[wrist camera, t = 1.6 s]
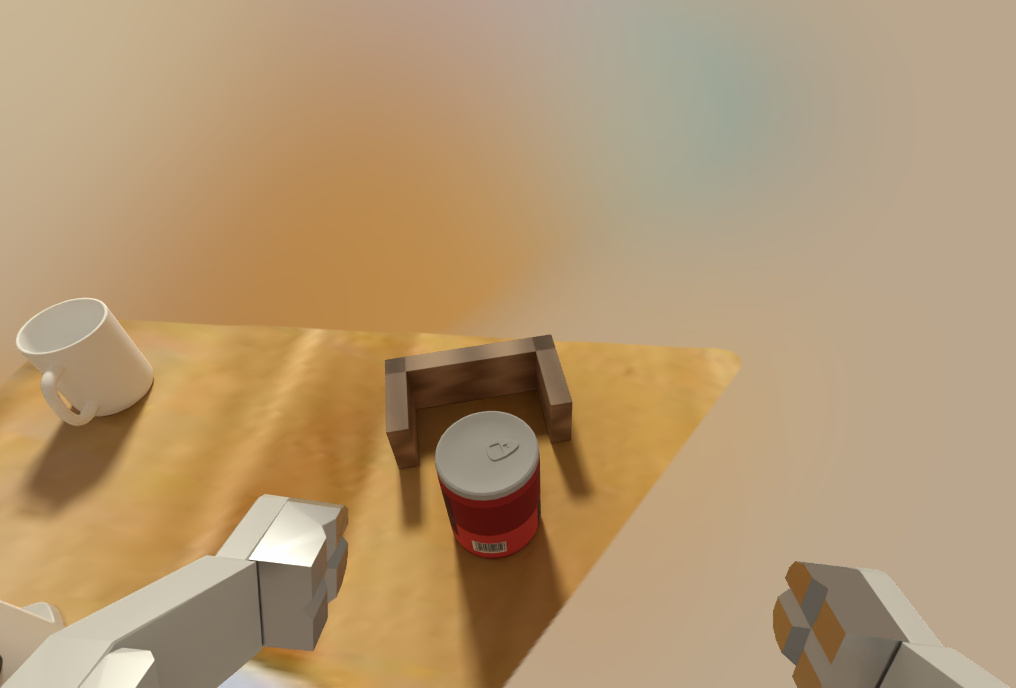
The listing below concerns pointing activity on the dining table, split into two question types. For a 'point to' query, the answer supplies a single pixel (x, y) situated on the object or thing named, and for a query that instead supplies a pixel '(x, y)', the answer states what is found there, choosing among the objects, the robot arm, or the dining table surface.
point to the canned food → (490, 482)
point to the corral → (473, 386)
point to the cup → (84, 360)
